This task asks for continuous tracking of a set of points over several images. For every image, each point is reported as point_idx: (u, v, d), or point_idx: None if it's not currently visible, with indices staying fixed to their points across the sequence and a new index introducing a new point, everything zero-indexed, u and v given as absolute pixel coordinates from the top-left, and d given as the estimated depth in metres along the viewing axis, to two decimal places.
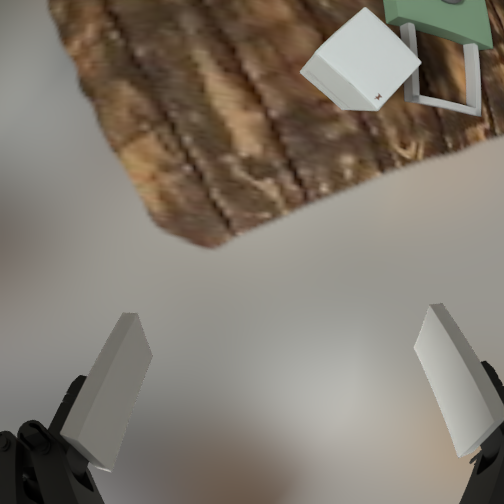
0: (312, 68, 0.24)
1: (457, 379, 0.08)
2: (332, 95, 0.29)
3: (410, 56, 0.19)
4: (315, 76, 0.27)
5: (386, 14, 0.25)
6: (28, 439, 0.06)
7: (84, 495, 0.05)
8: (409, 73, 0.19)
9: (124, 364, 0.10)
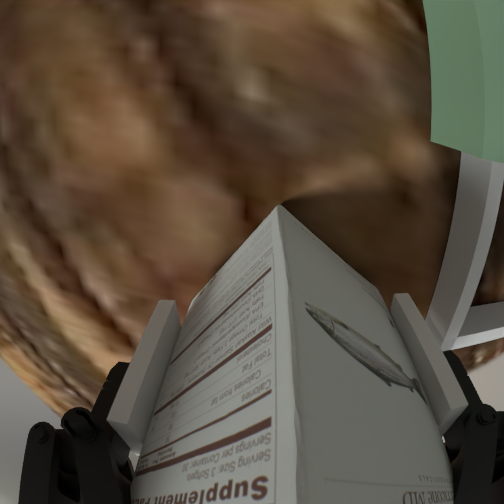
0: None
1: (418, 366, 0.09)
2: None
3: None
4: None
5: (436, 114, 0.10)
6: (73, 426, 0.06)
7: (125, 487, 0.06)
8: None
9: (164, 349, 0.11)
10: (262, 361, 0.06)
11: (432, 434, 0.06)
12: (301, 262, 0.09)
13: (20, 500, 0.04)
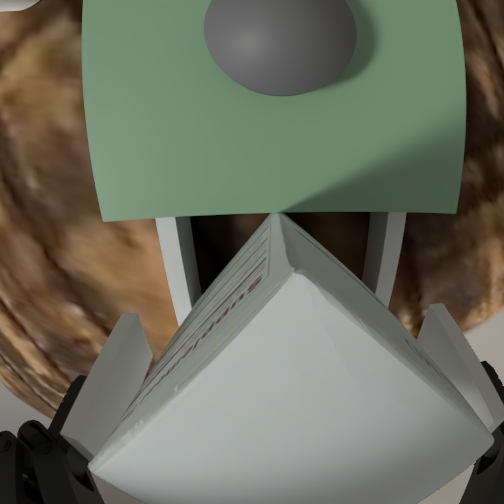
0: None
1: (457, 379, 0.08)
2: None
3: (465, 450, 0.04)
4: None
5: None
6: (28, 439, 0.06)
7: (84, 495, 0.05)
8: (432, 492, 0.04)
9: (124, 364, 0.10)
10: (259, 252, 0.07)
11: None
12: (293, 223, 0.11)
13: None
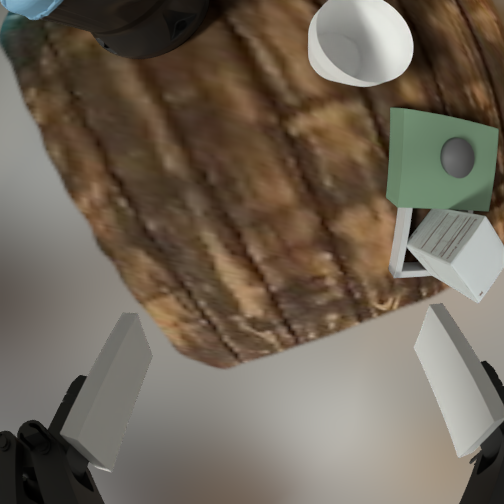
0: (431, 259, 0.30)
1: (457, 379, 0.08)
2: (432, 270, 0.34)
3: None
4: (426, 260, 0.32)
5: (388, 188, 0.35)
6: (28, 439, 0.06)
7: (84, 495, 0.05)
8: (501, 269, 0.25)
9: (124, 364, 0.10)
10: (461, 217, 0.28)
11: None
12: None
13: None
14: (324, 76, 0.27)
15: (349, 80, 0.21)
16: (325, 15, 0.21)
